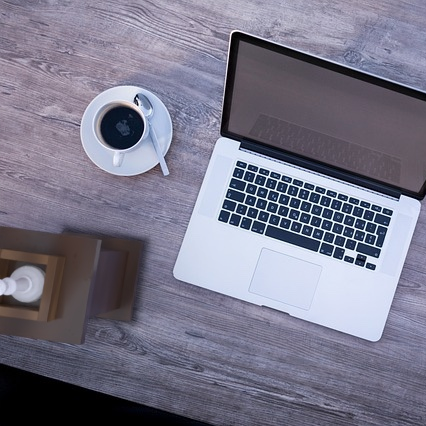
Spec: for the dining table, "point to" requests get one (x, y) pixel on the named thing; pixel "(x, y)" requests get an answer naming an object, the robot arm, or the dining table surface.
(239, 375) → the dining table surface
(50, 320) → the socket stand
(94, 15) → the dining table surface
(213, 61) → the dining table surface
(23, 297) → the chess piece
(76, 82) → the dining table surface
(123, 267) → the stand base
